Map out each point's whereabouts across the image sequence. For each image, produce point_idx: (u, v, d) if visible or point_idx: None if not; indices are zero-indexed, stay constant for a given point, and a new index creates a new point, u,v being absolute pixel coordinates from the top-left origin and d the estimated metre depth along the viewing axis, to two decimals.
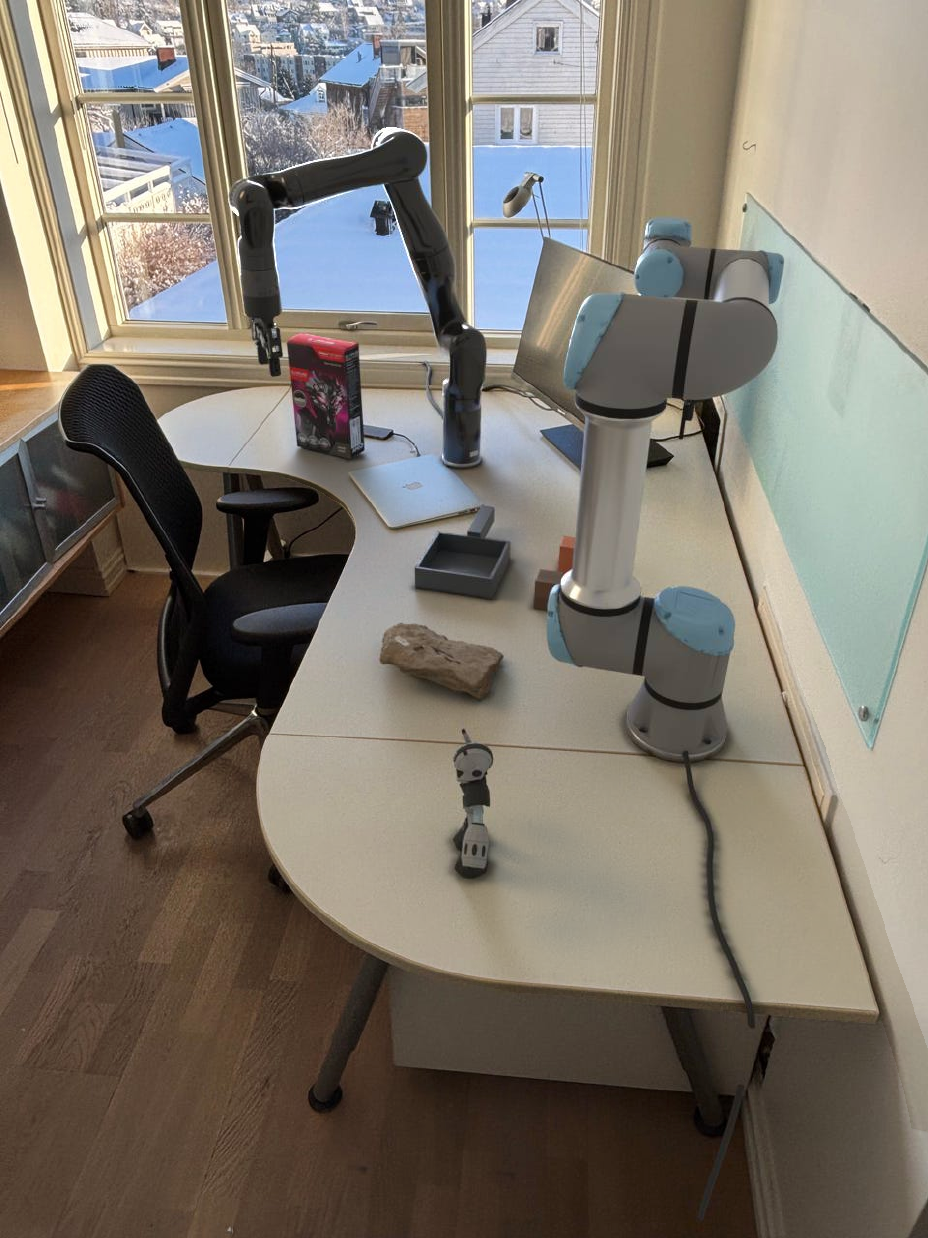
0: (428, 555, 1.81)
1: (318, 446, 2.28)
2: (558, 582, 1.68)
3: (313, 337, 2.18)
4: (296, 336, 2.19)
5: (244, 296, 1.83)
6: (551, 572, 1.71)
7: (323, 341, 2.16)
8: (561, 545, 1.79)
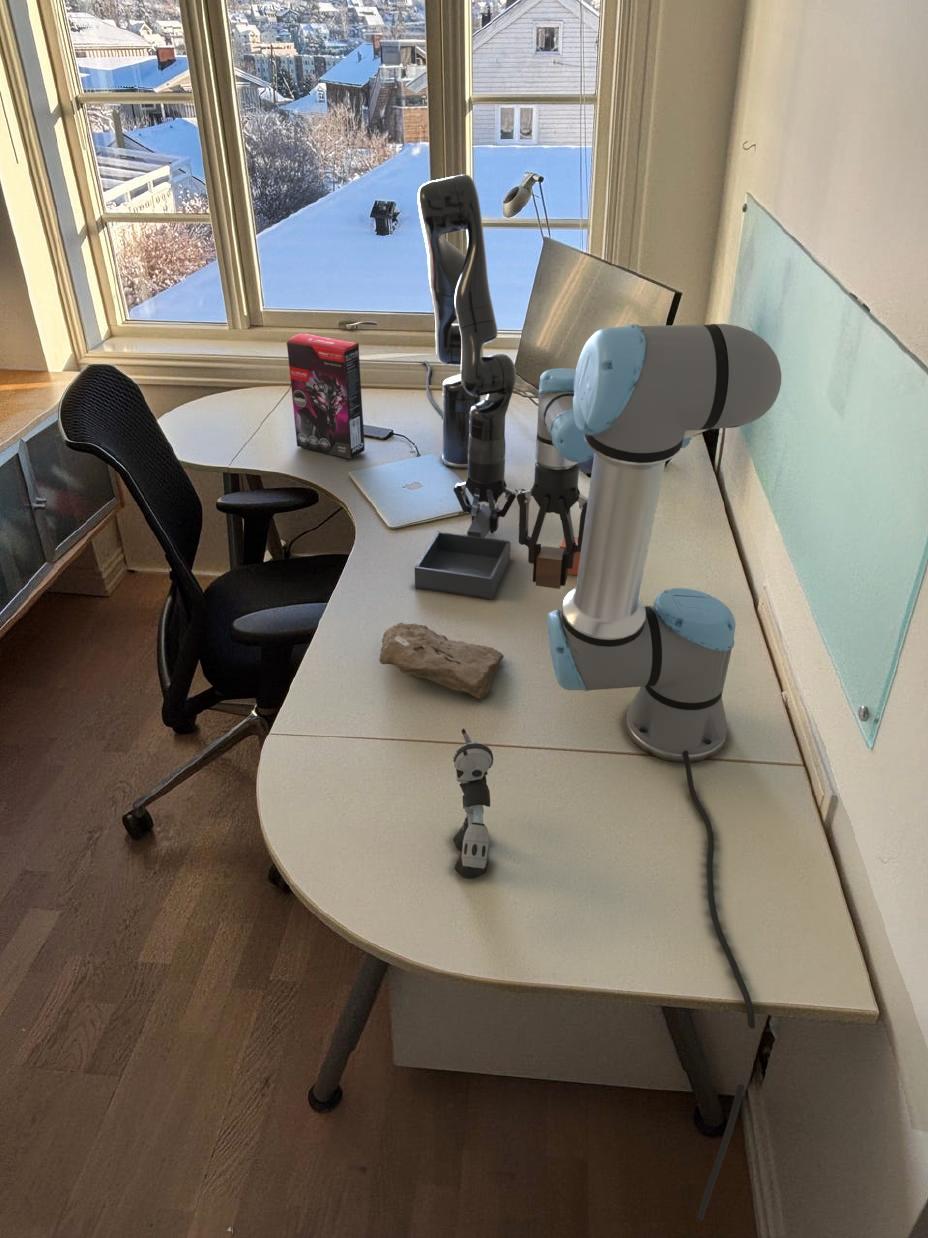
0: (428, 555, 1.81)
1: (318, 446, 2.28)
2: (560, 558, 1.65)
3: (313, 337, 2.18)
4: (296, 336, 2.19)
5: (486, 465, 1.82)
6: (553, 548, 1.68)
7: (323, 341, 2.16)
8: (561, 545, 1.79)
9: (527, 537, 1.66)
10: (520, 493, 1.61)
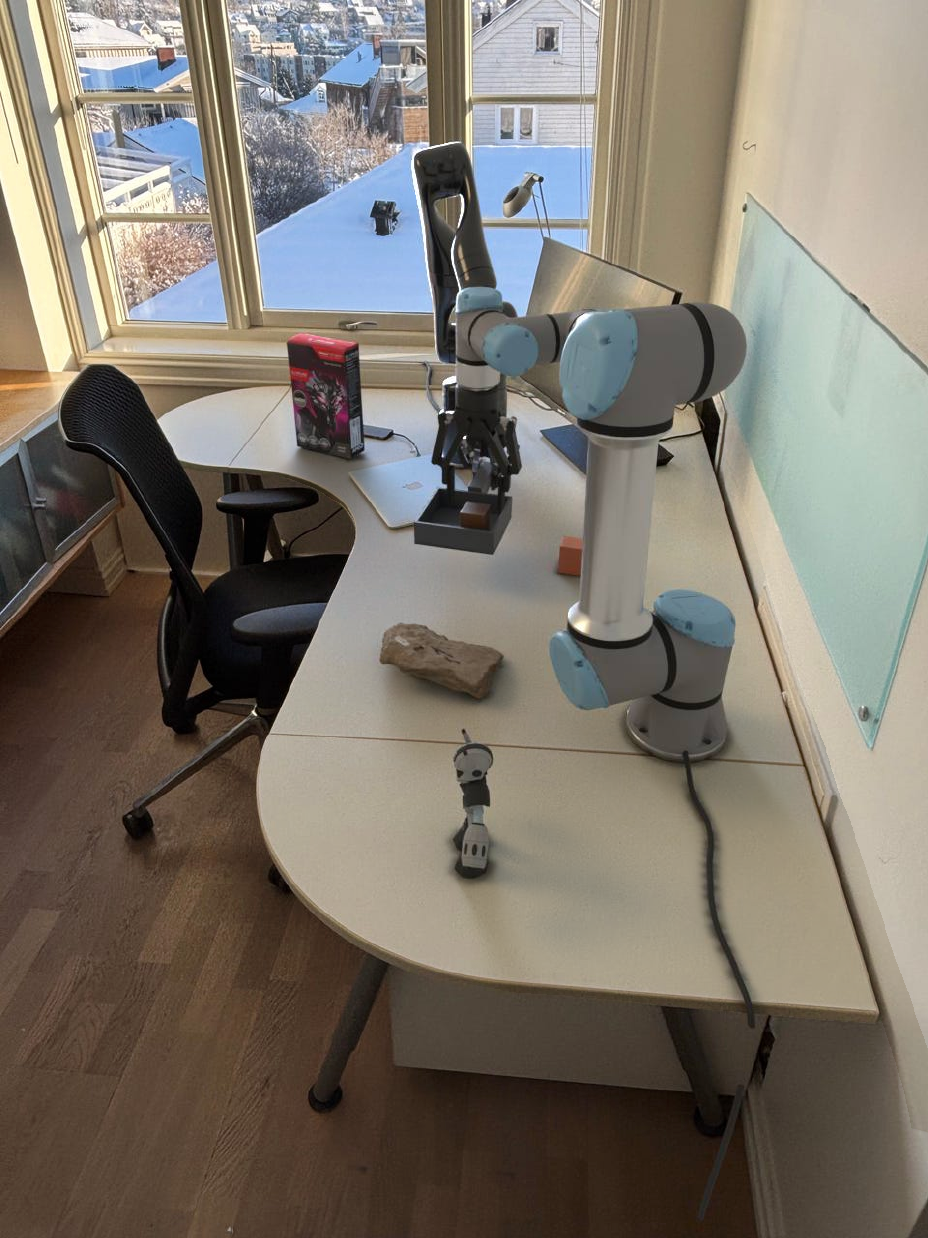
0: (427, 510, 1.75)
1: (318, 446, 2.28)
2: (483, 513, 1.68)
3: (313, 337, 2.18)
4: (296, 336, 2.19)
5: None
6: (478, 504, 1.71)
7: (323, 341, 2.16)
8: (561, 545, 1.79)
9: (440, 457, 1.66)
10: (442, 413, 1.60)
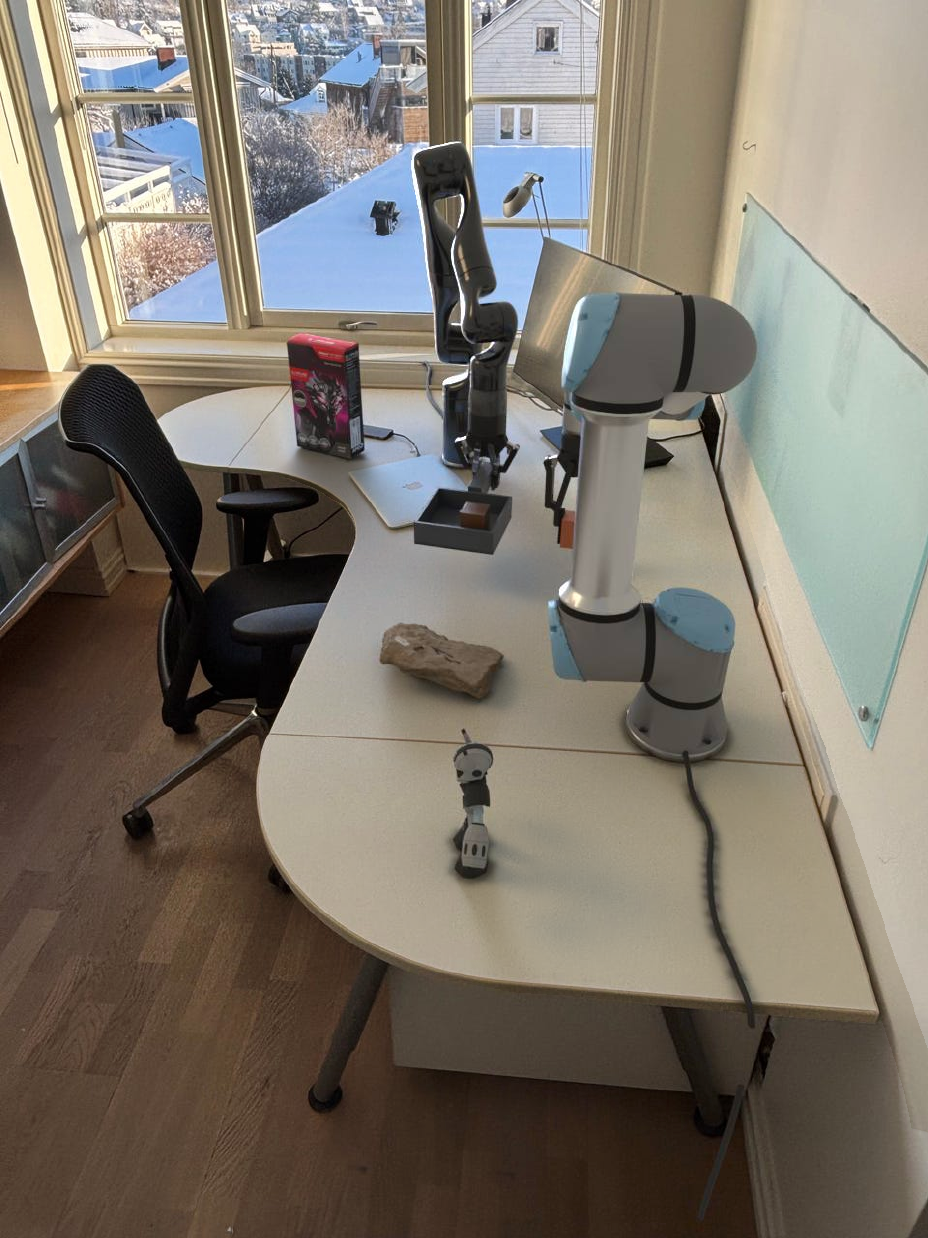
0: (427, 510, 1.75)
1: (318, 446, 2.28)
2: (483, 513, 1.68)
3: (313, 337, 2.18)
4: (296, 336, 2.19)
5: (487, 418, 1.77)
6: (478, 504, 1.71)
7: (323, 341, 2.16)
8: (563, 519, 1.76)
9: (552, 501, 1.76)
10: (547, 459, 1.71)
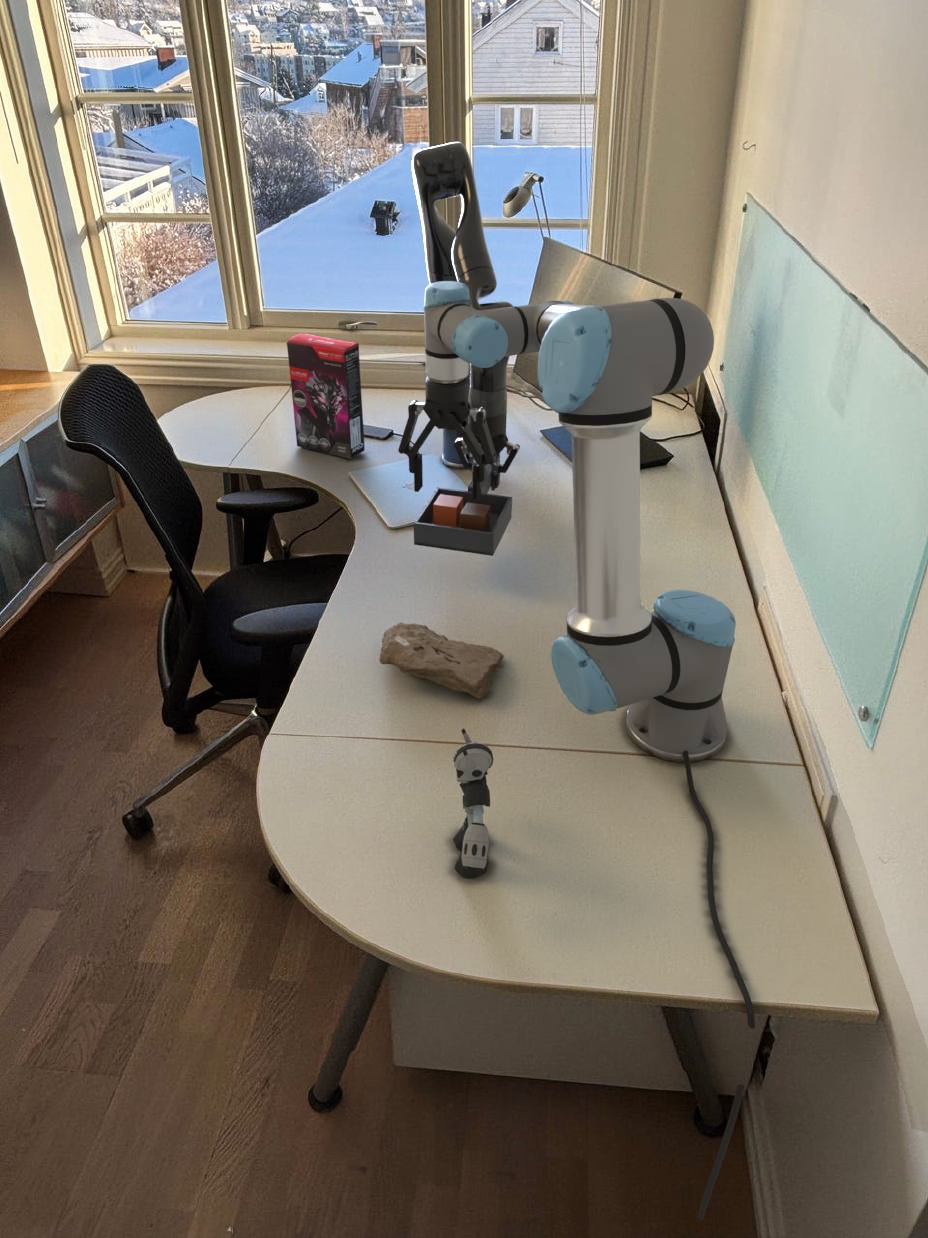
0: (427, 511, 1.76)
1: (318, 446, 2.28)
2: (483, 514, 1.68)
3: (313, 337, 2.18)
4: (296, 336, 2.19)
5: (487, 418, 1.77)
6: (478, 505, 1.71)
7: (323, 341, 2.16)
8: (435, 503, 1.71)
9: (407, 446, 1.69)
10: (413, 404, 1.63)
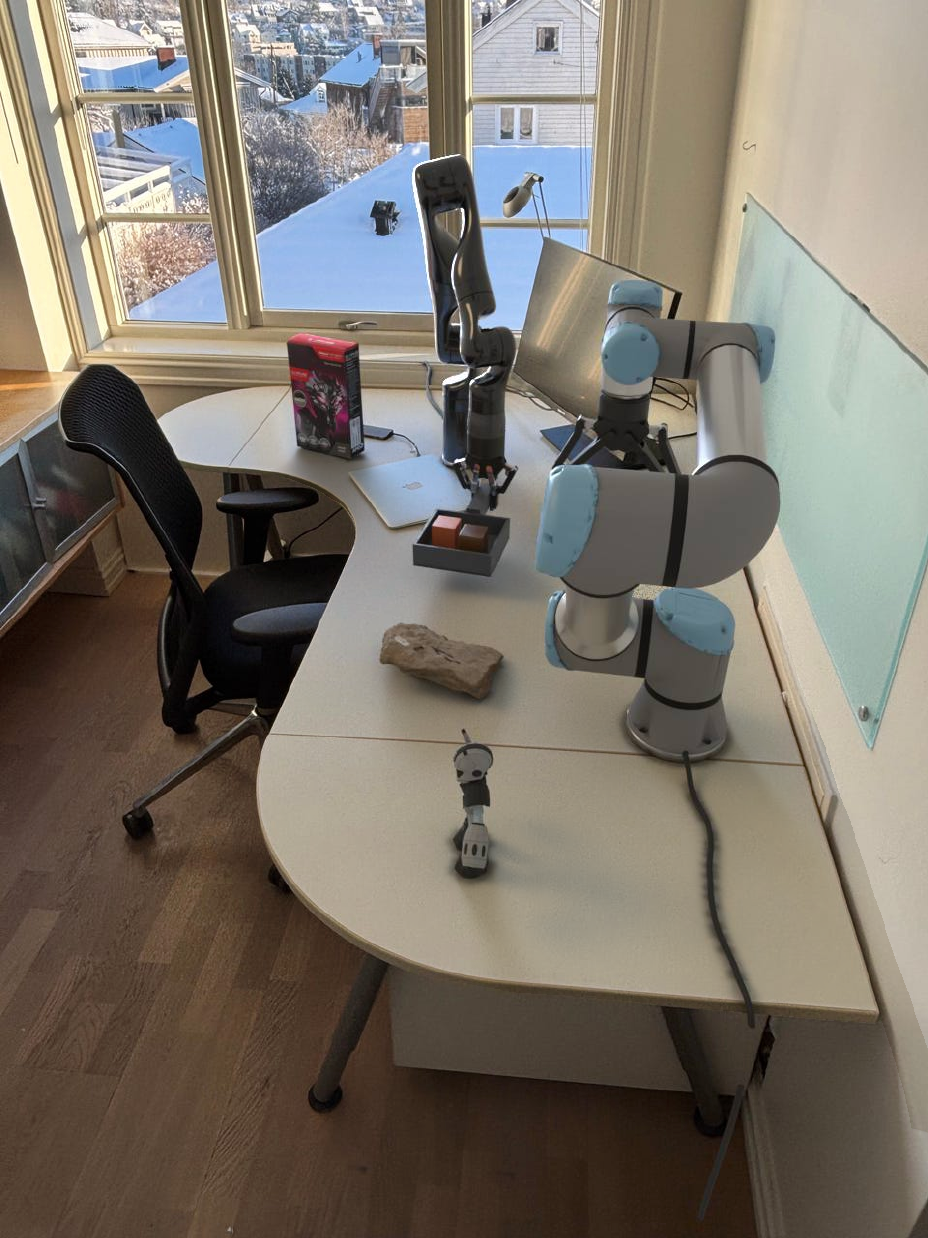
0: (426, 532, 1.78)
1: (318, 446, 2.28)
2: (481, 536, 1.70)
3: (313, 337, 2.18)
4: (296, 336, 2.19)
5: (485, 440, 1.80)
6: (476, 527, 1.73)
7: (323, 341, 2.16)
8: (434, 525, 1.74)
9: None
10: (582, 419, 1.40)
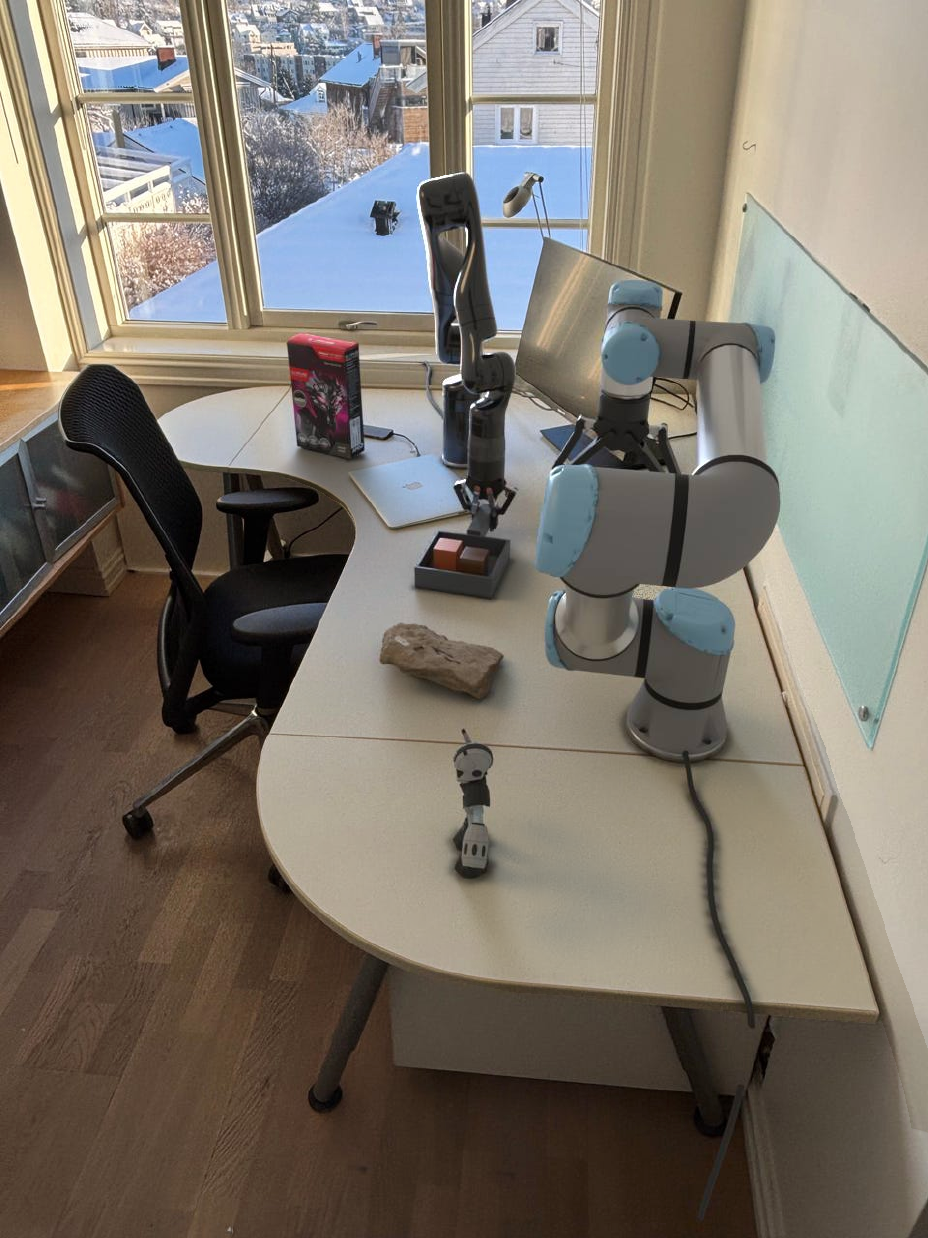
0: (428, 554, 1.81)
1: (318, 446, 2.28)
2: (482, 559, 1.73)
3: (313, 337, 2.18)
4: (296, 336, 2.19)
5: (485, 463, 1.82)
6: (477, 549, 1.76)
7: (323, 341, 2.16)
8: (435, 547, 1.77)
9: None
10: (582, 419, 1.40)
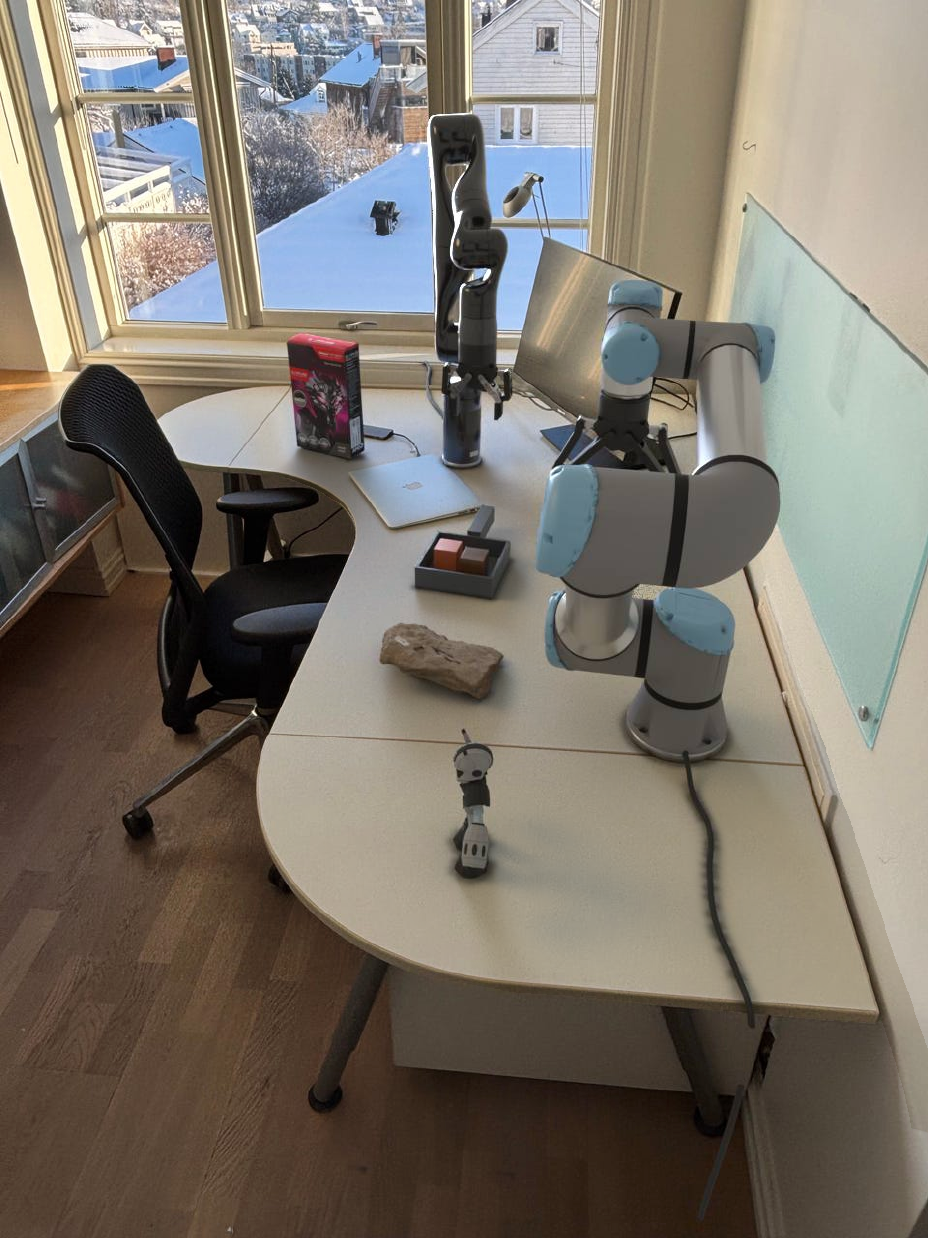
0: (428, 555, 1.81)
1: (318, 446, 2.28)
2: (482, 559, 1.73)
3: (313, 337, 2.18)
4: (296, 336, 2.19)
5: (477, 346, 1.77)
6: (477, 550, 1.76)
7: (323, 341, 2.16)
8: (435, 548, 1.77)
9: None
10: (582, 419, 1.40)
